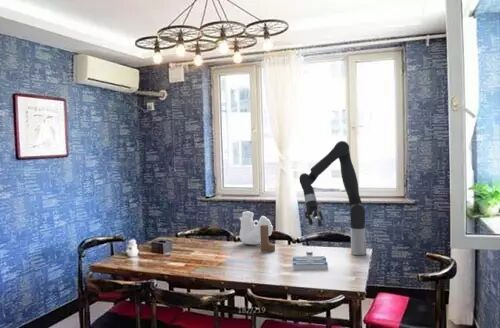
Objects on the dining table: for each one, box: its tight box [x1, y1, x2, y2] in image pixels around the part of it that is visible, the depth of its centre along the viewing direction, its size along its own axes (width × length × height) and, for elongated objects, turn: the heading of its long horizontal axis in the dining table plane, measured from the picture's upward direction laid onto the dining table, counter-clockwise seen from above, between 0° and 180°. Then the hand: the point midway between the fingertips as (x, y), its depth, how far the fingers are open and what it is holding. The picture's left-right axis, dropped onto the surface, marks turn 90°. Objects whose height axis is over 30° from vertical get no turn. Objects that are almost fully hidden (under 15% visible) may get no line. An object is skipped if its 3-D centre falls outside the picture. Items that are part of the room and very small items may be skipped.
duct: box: [292, 255, 329, 271], centre depth 253 cm, size 20×20×4 cm
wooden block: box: [260, 225, 276, 253], centre depth 287 cm, size 9×4×18 cm, turn 66°
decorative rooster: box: [238, 210, 274, 246], centre depth 308 cm, size 25×16×25 cm, turn 67°
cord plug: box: [305, 250, 314, 263], centre depth 248 cm, size 4×4×9 cm
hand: (315, 225), depth 263 cm, fingers open, 8 cm apart
